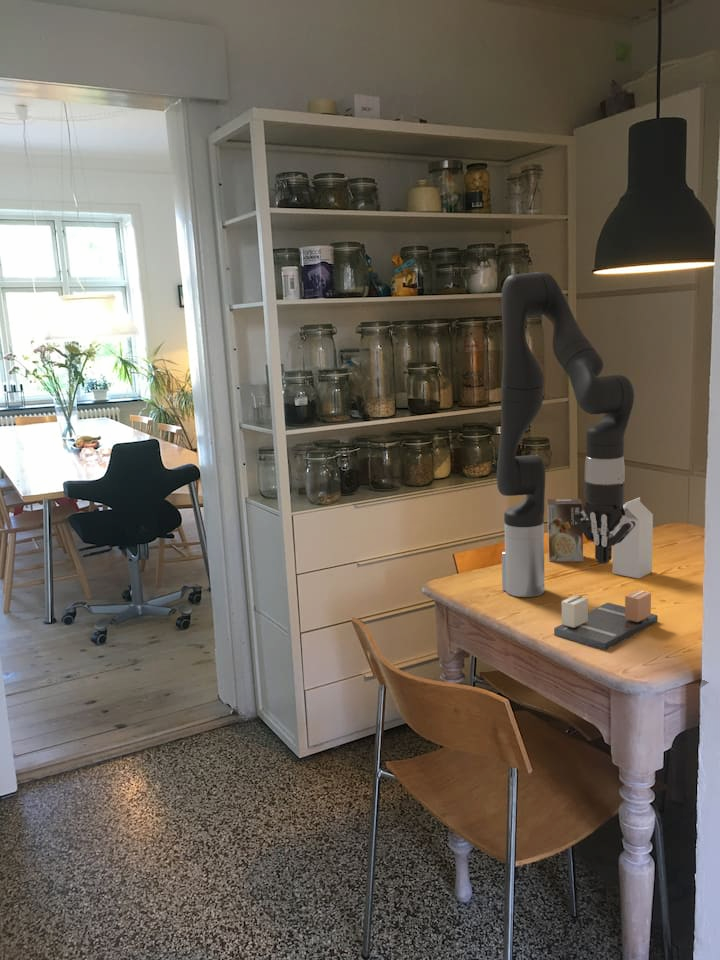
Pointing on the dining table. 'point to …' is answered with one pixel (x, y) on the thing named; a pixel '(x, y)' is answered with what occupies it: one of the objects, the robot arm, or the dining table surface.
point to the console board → (605, 627)
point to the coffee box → (564, 530)
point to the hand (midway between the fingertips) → (603, 562)
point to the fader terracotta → (638, 605)
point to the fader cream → (574, 611)
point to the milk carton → (635, 543)
